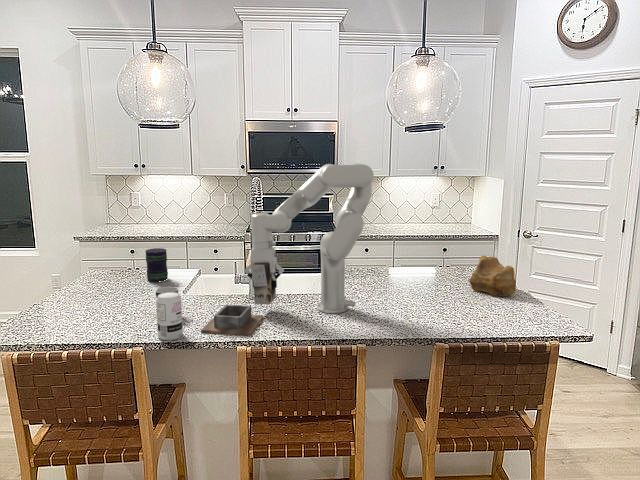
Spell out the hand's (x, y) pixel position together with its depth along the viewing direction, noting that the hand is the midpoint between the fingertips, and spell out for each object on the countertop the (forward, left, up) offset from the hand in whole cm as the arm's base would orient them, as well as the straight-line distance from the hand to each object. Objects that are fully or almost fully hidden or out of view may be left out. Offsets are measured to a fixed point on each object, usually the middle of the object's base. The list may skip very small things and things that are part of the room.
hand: (264, 288), depth 193 cm
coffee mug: (+36, +10, -10) cm, 39 cm away
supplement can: (+26, +30, -10) cm, 41 cm away
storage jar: (+64, -38, -10) cm, 75 cm away
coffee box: (0, 0, -5) cm, 5 cm away
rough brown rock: (-94, -43, -10) cm, 103 cm away
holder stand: (+8, +16, -9) cm, 20 cm away
